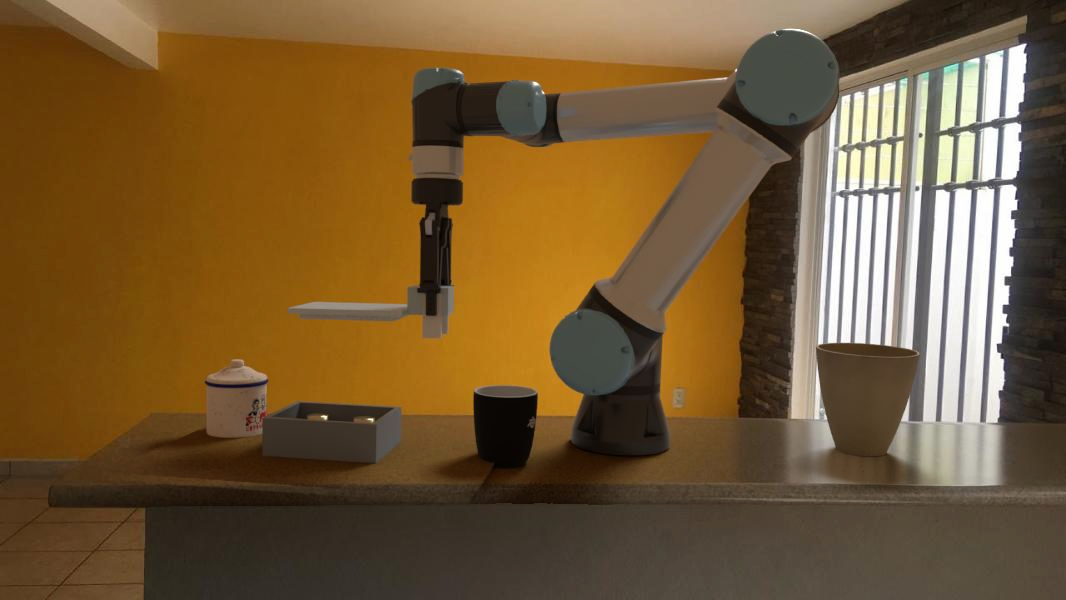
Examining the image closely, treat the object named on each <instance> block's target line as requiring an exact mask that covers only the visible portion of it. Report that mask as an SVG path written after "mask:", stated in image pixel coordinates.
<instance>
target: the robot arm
mask: <svg viewBox="0 0 1066 600" xmlns="http://www.w3.org/2000/svg"><path fill="white" fill-rule="evenodd" d="M739 61H740V62H739V63H738V66H737V68H736V69H734V71H733V72H732V73H731V74H730V75H729V76H728V77H727V76H726V77H717V78H715V77H714V78H706V79H705V78H704V79H695V80H686V81H685V80H683V81H675V82H664V83H651V84H642V85H641V84H639V85H629V86H619V87H611V88H610V87H609V88H600V89H599V88H598V89H589V90H587V89H586V90H578V91H569V92H567V91H566V92H559V93H558V92H557V93H546V94H545V92H544V91H543V90H542V86H541V85H540V84H539V83H538V82H536V81H534V80H533V81H532V80H519V79H511V80H509V81H508V80H507V81H491V82H466V81H465V75H464V73H463V72H462V71H461V70H458V69H456V68H455V69H454V68H447V67H442V68H439V67H428V68H426V67H425V68H422V69H419V70H418V71H416V72H415V74H414V76H413V79H412V80H413V81H412V82H413V83H412V93H411V95H412V97H411V100H410V101H411V102H410V103H411V106H412V109H411V111H412V114H411V115H412V119H411V120H412V121H411V122H412V127H411V128H412V142H411V143H412V144H411V145H412V146H411V148H412V149H411V150H412V151H411V152H412V153H411V154H409V155H408V156H407V160H408V161H410V162H411V173H412V174H413V175H414V176H416V178H413V179H412V180H411V192H410V193H411V197H410V198H411V203H413V204H414V205H416V206H417V205H421V206H425V209H424V217H421V219H420V220H419V223H418V225H419V232H420V241H419V242H420V245H419V246H420V247H419V248H420V251H419V252H420V253H419V254H420V256H419V257H420V258H419V259H420V260H419V265H420V266H419V286H420V288H417V292H418V293H423V315H422V322H421V323H422V329H421V330H422V332H421V333H422V336H421V337H422V339H438V340H439V339H442V338H443V335H448V334H449V318H450V317H449V316H450V315H448V316H442V293H440V291H441V286H454V287H455V285H454V284H452V283H453V282H452V238H453V237H452V235H453V226H454V224H453V218H452V217H449V206H461V205H462V204H463V203H464V198H463V197H464V181H462V179H460V177H462V176H463V175H464V171H465V169H464V167H465V166H464V164H465V163H464V161H465V160H464V156H465V154H464V153H465V149H464V141H465V140H464V139H465V137H501V138H505V139H508V140H511V141H515V142H517V143H521V144H523V145H525V146H528V147H531V148H546V147H550V146H552V145H554V144H561V143H572V142H586V141H587V142H589V141H601V140H614V139H615V140H616V139H628V138H629V139H630V138H645V137H646V138H647V137H660V136H676V135H687V134H688V135H689V134H705V133H706V134H707V133H711V135H710V137H709V138H708V139H707V141H706V143H705V144H704V145H703V146H702V148H701V150H700V151H699V152H698V153H697V155H696V157H695V158H694V159H693V161H692V162H691V164H690V165H689V167H688V168H687V170H686V171H685V173H683V175H682V176H681V178H680V180H679V181H678V182H677V184H676V186H675V187H673V190H672V191H671V192H670V194H669V195H668V197H667V198H666V199H665V201H664V202H663V204H662V205H661V207H660V208H659V210H658V211H657V212H656V214H655V215H654V216H653V218H652V220H651V221H650V223H649V224H648V225H647V227H646V228H645V230H644V231H643V232H642V234H641V235H640V236H639V238H638V240H637V241H636V242H635V244H634V245H633V247H632V248H631V250H630V251H629V253H628V254H627V256H626V257H625V258H624V260H623V261H622V262H621V264H620V265H619V267H618V268H617V270H616V271H615V272H614V274H613V276H611V277H607V278H600V279H597V280H596V281H594V283H593V285H592V286H591V288H590V289H589V291H587V294H586V295H585V296H584V298H583V299H582V300H581V302H580V303H579V305H577V308H576V309H575V310H574V311H571V312H569V313H568V314H567V315H565V316H564V317H563V318H562V319H561V320H559V322H558V324H557V325H556V326H555V328H554V329H553V331H552V333H551V337H550V342H549V357H550V361H551V365H552V367H553V369H554V370H553V371H554V372H555V374H556V375H557V377H558V378H559V379H560V380H561V381H562V383H564V385H565V386H567V387H568V388H569V389H571V390H573V391H575V392H576V393H580V394H582V398H581V401H580V404H579V406H578V409H577V412H576V415H575V416H574V417H575V418H574V420H573V423H572V426H571V433H570V434H571V435H570V436H571V437H570V442H571V443H572V445H574V446H575V447H577V448H580V449H581V450H585V451H589V452H594V453H598V454H603V455H604V454H605V455H612V456H613V455H615V456H646V455H648V456H649V455H655V454H660V453H663V452H666V450H668V449H669V448H670V443H671V442H670V439H671V432H670V428H669V425H668V421H667V417H666V413H665V410H664V406H663V403H662V399H661V382H662V381H661V380H662V379H661V378H662V359H663V358H662V357H663V337H664V334H665V333H666V331H667V323H666V317H665V316H666V312H667V311H668V309H669V308H670V306H671V304H672V303H674V301H675V299H676V298H677V297H678V295H679V294H680V292H681V291H682V289H684V287H685V286H686V284H687V283H688V282H689V280H690V279H691V277H692V276H693V275H694V273H695V272H696V271H697V269H698V268H699V266H700V265H701V264H702V263H703V261H704V259H705V258H706V257H707V256H708V254H709V253H710V251H711V250H712V248H713V247H714V246H715V245H716V243H717V241H718V240H719V239H720V238H721V236H722V235H723V233H724V232H725V230H726V229H727V228H728V227H729V225H730V224H731V222H732V221H733V220H734V218H735V217H736V216H737V214H738V212H739V211H740V210H741V209H742V207H743V206H744V205H745V203H746V202H747V201H748V199H749V197H750V196H751V195H752V193H753V192H754V191H755V189H756V188H757V187H758V185H759V184H760V182H761V181H762V180H763V178H764V177H765V176H766V174H767V172H769V170H770V169H771V167H772V166H774V165H775V164H779V163H783V162H788V161H791V160H792V159H793V157H794V156H795V154H796V153H797V152H798V150H799V149H800V147H802V145H803V144H804V143H805V141H806V140H807V139H808V138H809V136H810V134H812V133H814V132H815V131H817V130H819V128H821V127H822V126H823V125H824V124H826V122H828V120H829V119H830V118H831V116H832V114H833V113H834V111H835V110H836V107H837V105H838V102H839V98H840V80H841V79H840V77H841V76H840V75H841V74H840V66H839V63H838V60H837V59H836V56H835V54H834V52H833V51H832V50H831V49H830V47H829V45H827V43H826V42H825V41H824V40H822V39H821V38H820V37H818V36H817V35H815V34H813V33H811V32H809V31H806V30H802V29H798V28H797V29H796V28H785V29H779V30H775V31H774V30H773V31H771V32H768V33H766V34H765V35H763V36H761V37H759V38H758V39H757V40H755V41H754V42H753V43H752V44H751V45H750V46H749V47H748V48H747V50H746V51H745V52H744V54H743V55H742V57H741V59H740V60H739Z"/></svg>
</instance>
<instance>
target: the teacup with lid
mask: <svg viewBox="0 0 1066 600" xmlns="http://www.w3.org/2000/svg"><path fill="white" fill-rule="evenodd" d="M229 365H230V366H225V367H223V368H222V369H220V370H219V371H218V372H214V373H211V374H208V376H206V378H205V380H204V384H205V385H206V434H207V435H208V436H210V437H215V438H223V439H224V438H226V439H227V438H228V439H229V438H230V439H232V438H234V439H235V438H247V437H253V436H258V435H262V418H263V417H265V416H267V410H268V409H267V408H268V407H267V405H268V404H267V401H268V400H267V399H268V398H267V396H268V395H267V393H268V392H267V391H268V390H267V389H268V388H267V386H268V385H267V384H268V383H269V379H268V376H267V375H266V374H265V373H262V372H258V371H256V370H254V369H253V368H251V367H250V366H246V365H245V361H244V359H238V358H237V359H231V360H230V361H229Z"/></svg>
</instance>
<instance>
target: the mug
mask: <svg viewBox="0 0 1066 600" xmlns="http://www.w3.org/2000/svg"><path fill="white" fill-rule="evenodd" d="M472 397H473V401H472V403H473V408H472V409H473V410H472V411H473V423H474V424H473V428H474V438H475V445H476V450H477V454H478V457H479V459H480V460H483V461H485V462H488V463H493V465H492V468H497V467H498V468H497V469H499V468H500V469H502V468H503V469H510V468H512V469H513V468H518V467H522V466H524V465H526V464H527V462H528V460H529V459H530V455H531V452H532V447H533V444H534V439H535V438H534V437H535V432H536V424H537V415H538V399H539V394H538V391H537V390H536V389H534V388H531V387H527V386H520V385H512V384H511V385H508V384H507V385H505V384H502V385H500V384H499V385H498V384H497V385H494V384H493V385H485V386H479V387H476V388H475V389H474V390H473V396H472Z"/></svg>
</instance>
